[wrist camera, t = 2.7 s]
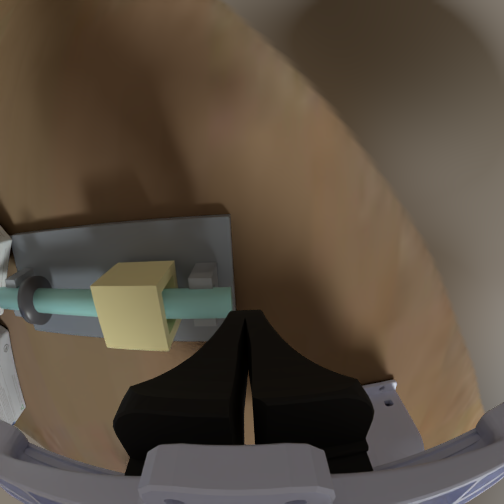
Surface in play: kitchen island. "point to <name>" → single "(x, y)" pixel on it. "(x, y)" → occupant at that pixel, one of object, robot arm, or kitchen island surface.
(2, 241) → the small box
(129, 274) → the sleeve
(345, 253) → the kitchen island surface
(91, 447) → the kitchen island surface
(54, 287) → the teal rod on plate
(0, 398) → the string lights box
